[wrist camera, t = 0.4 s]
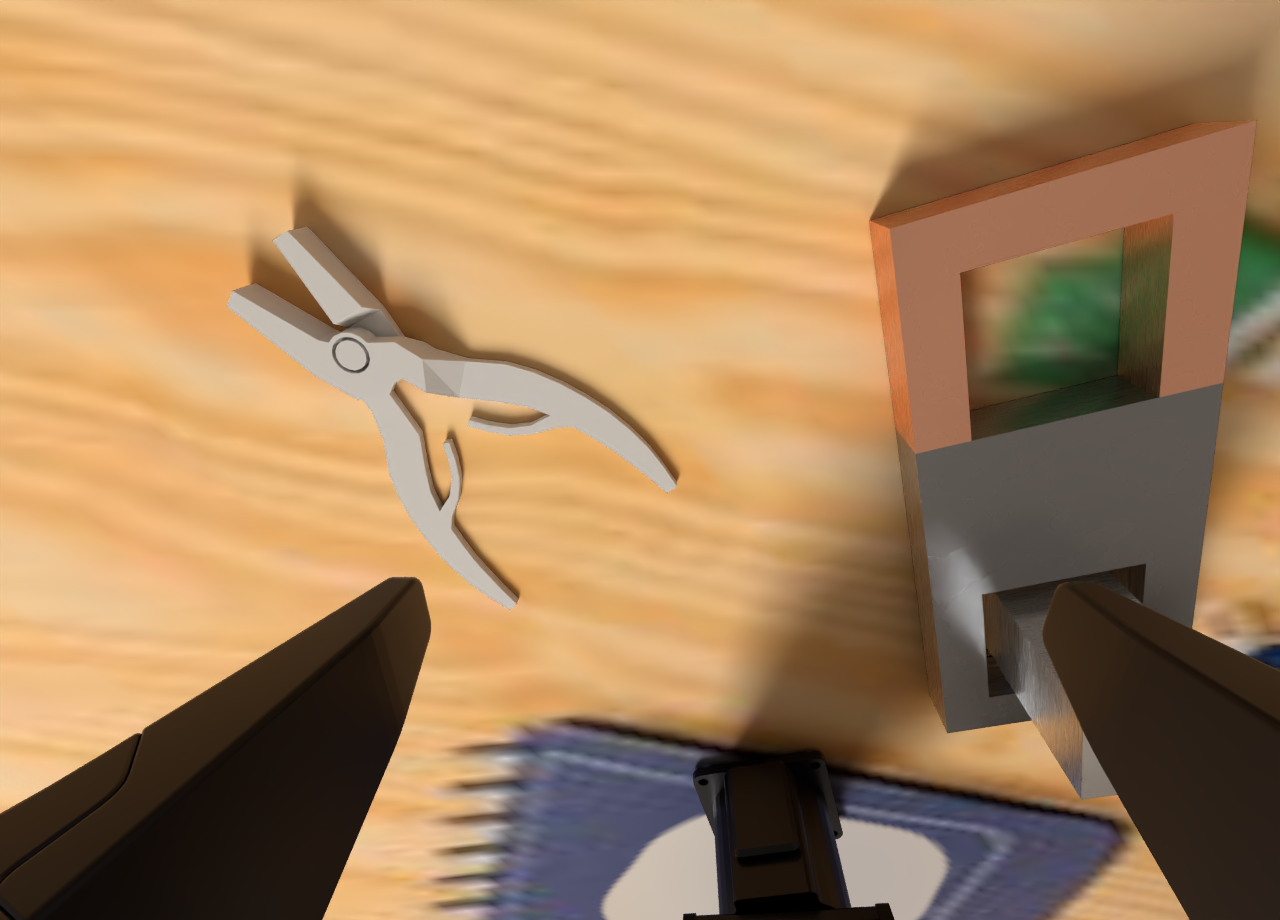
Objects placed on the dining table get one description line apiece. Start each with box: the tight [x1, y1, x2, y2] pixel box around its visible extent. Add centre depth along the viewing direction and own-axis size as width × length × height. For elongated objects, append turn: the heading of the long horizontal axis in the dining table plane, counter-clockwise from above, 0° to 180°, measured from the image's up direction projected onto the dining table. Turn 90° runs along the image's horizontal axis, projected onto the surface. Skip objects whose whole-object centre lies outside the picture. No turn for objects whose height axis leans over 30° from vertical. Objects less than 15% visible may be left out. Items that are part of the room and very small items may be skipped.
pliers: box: [227, 227, 677, 610], centre depth 22 cm, size 10×2×15 cm
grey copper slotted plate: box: [869, 120, 1257, 733], centre depth 22 cm, size 21×9×2 cm, turn 17°
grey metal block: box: [982, 571, 1144, 799], centre depth 22 cm, size 4×4×7 cm
